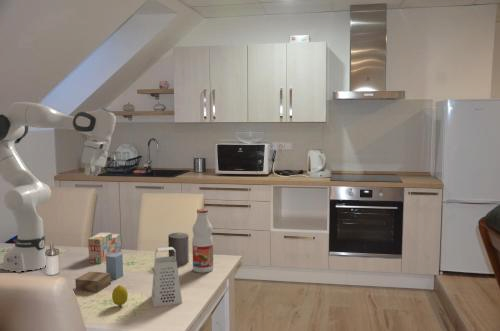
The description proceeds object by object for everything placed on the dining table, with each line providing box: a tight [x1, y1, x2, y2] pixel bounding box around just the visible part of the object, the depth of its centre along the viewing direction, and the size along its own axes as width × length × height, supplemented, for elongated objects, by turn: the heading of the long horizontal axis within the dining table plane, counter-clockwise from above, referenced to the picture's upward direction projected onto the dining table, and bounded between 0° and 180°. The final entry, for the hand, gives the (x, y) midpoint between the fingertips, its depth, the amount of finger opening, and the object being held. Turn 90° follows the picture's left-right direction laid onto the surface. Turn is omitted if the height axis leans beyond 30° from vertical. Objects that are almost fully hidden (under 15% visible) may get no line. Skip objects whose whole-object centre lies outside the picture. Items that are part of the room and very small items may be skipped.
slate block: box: [105, 253, 124, 281], centre depth 205 cm, size 5×5×10 cm
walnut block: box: [74, 270, 112, 294], centre depth 193 cm, size 10×10×5 cm
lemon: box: [111, 284, 129, 307], centre depth 173 cm, size 6×6×8 cm
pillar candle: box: [167, 232, 190, 267], centre depth 225 cm, size 10×10×15 cm
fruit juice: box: [191, 208, 214, 274], centre depth 213 cm, size 9×9×28 cm
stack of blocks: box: [87, 232, 122, 265], centre depth 235 cm, size 21×6×12 cm, turn 170°
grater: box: [151, 246, 183, 307], centre depth 178 cm, size 10×10×20 cm
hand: (90, 175), depth 207 cm, fingers open, 8 cm apart
